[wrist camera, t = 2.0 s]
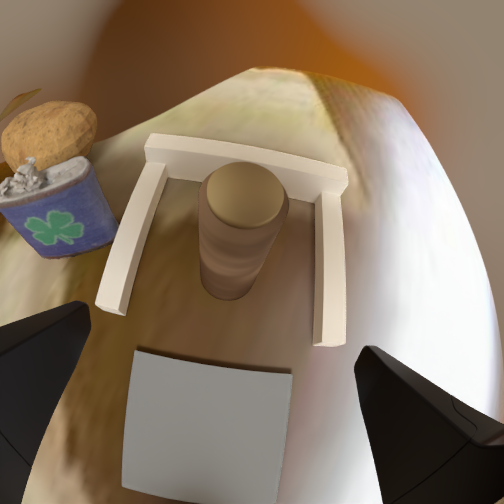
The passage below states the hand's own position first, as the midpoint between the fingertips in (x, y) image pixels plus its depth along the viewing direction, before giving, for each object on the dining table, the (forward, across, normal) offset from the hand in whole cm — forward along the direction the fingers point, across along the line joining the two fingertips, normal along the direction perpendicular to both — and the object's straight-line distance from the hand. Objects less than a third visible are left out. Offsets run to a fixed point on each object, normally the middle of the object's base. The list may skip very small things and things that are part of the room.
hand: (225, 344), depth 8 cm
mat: (+4, 0, +14) cm, 14 cm away
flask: (+14, +14, +4) cm, 21 cm away
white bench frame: (+16, 0, +2) cm, 16 cm away
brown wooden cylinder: (+14, 0, +4) cm, 15 cm away
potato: (+21, +22, -3) cm, 31 cm away
